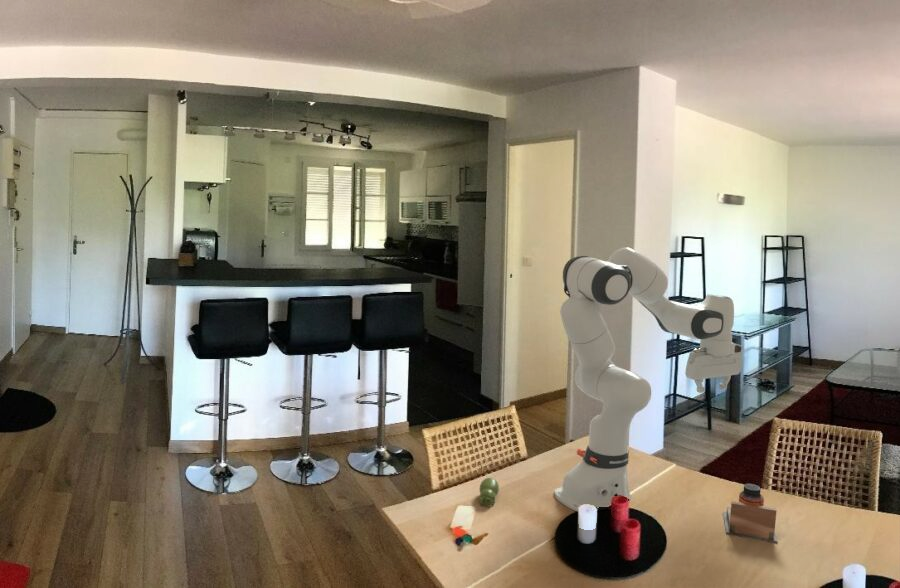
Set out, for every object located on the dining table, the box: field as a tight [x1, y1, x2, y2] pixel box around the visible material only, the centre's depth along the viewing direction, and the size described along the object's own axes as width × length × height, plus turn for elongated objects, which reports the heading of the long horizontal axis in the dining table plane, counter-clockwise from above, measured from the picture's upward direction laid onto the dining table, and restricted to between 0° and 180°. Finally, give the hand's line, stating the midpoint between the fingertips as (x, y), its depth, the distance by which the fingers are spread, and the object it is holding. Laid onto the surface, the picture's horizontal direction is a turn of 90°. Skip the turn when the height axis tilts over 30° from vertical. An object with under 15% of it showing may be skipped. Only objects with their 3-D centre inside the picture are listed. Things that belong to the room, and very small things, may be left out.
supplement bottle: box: [738, 483, 765, 506], centre depth 164 cm, size 6×6×11 cm
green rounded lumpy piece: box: [478, 477, 500, 506], centre depth 178 cm, size 6×5×10 cm
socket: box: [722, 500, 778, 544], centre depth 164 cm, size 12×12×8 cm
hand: (711, 390), depth 190 cm, fingers open, 8 cm apart
